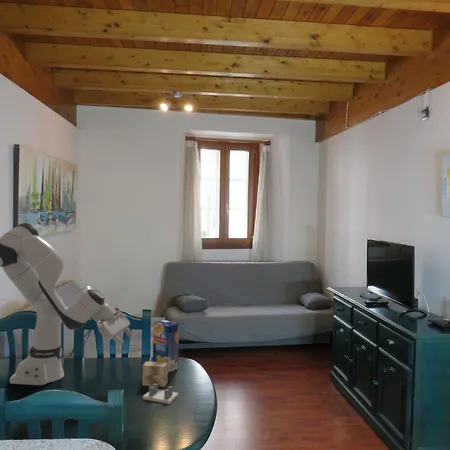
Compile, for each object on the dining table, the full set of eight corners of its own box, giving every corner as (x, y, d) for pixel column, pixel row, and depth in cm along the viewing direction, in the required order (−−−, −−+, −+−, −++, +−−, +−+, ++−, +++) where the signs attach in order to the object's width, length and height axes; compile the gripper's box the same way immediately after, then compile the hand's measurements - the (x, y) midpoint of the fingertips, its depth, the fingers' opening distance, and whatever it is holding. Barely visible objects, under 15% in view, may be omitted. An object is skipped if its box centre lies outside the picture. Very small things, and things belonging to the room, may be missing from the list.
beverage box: (162, 363, 215) (163, 319, 214) (178, 368, 208) (178, 323, 208) (152, 366, 210) (152, 322, 209) (168, 372, 203) (168, 326, 202)
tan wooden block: (142, 385, 188) (142, 365, 188) (145, 381, 193) (145, 361, 193) (164, 387, 187) (164, 366, 186) (167, 382, 192) (167, 362, 191)
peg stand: (142, 399, 175) (143, 388, 174) (152, 391, 182) (152, 381, 182) (169, 403, 171) (169, 393, 170) (178, 395, 178) (178, 385, 178)
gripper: (100, 318, 179) (122, 342, 178) (120, 306, 199) (140, 328, 198) (90, 328, 180) (112, 352, 179) (111, 315, 200) (131, 337, 199)
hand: (127, 340), depth 189 cm, fingers open, 8 cm apart
